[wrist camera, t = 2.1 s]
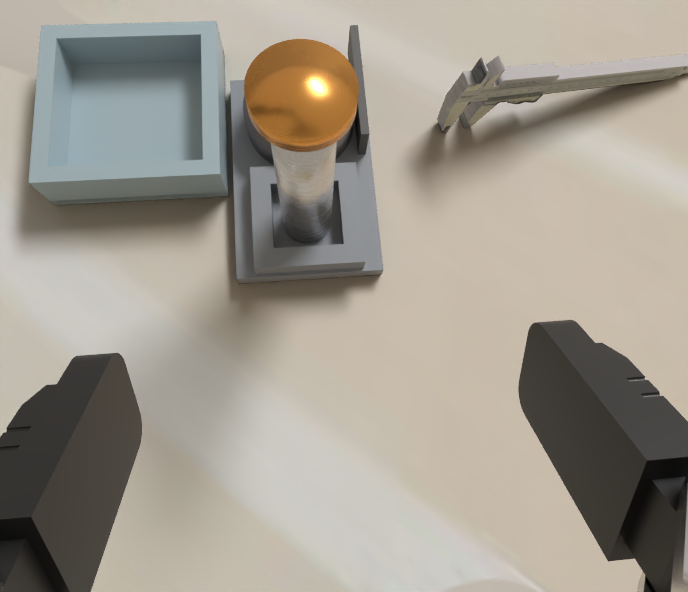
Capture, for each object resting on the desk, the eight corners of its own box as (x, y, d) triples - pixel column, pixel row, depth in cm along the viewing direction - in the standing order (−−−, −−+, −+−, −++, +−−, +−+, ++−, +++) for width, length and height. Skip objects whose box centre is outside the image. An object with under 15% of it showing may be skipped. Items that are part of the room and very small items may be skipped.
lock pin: (273, 256, 31) (245, 140, 19) (270, 191, 32) (242, 40, 20) (344, 252, 32) (363, 135, 19) (339, 187, 33) (353, 37, 20)
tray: (53, 205, 33) (28, 183, 30) (63, 58, 35) (40, 25, 32) (228, 196, 33) (219, 173, 30) (224, 53, 36) (216, 21, 33)
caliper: (439, 137, 36) (465, 77, 30) (434, 123, 36) (458, 61, 30) (693, 74, 38) (764, 7, 32) (686, 62, 38) (756, -6, 32)
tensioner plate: (238, 283, 32) (228, 263, 28) (231, 65, 36) (221, 21, 32) (381, 274, 33) (390, 253, 29) (358, 61, 37) (363, 17, 33)
